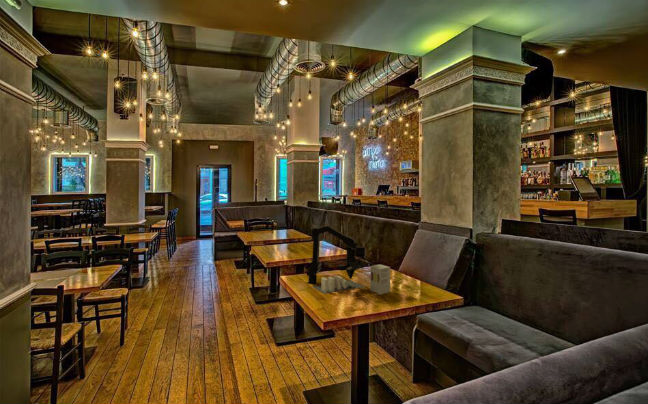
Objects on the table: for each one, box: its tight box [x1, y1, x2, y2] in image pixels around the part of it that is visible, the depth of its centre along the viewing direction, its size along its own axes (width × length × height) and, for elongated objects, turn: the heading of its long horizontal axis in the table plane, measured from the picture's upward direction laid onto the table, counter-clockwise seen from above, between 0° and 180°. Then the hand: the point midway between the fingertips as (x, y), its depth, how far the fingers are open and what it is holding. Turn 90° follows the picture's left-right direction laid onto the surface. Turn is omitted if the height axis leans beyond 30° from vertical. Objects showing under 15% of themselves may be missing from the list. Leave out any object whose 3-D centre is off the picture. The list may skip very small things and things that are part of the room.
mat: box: [311, 279, 366, 294], centre depth 236 cm, size 18×32×1 cm, turn 119°
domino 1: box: [320, 277, 328, 292], centre depth 225 cm, size 5×2×8 cm, turn 29°
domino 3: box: [332, 275, 341, 290], centre depth 230 cm, size 5×2×8 cm, turn 29°
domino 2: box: [327, 276, 335, 291], centre depth 228 cm, size 5×2×8 cm, turn 29°
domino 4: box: [337, 275, 347, 289], centre depth 232 cm, size 5×2×8 cm, turn 29°
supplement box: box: [369, 264, 391, 295], centre depth 226 cm, size 10×9×17 cm
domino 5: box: [343, 278, 354, 287], centre depth 234 cm, size 5×2×8 cm
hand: (350, 278), depth 235 cm, fingers closed
